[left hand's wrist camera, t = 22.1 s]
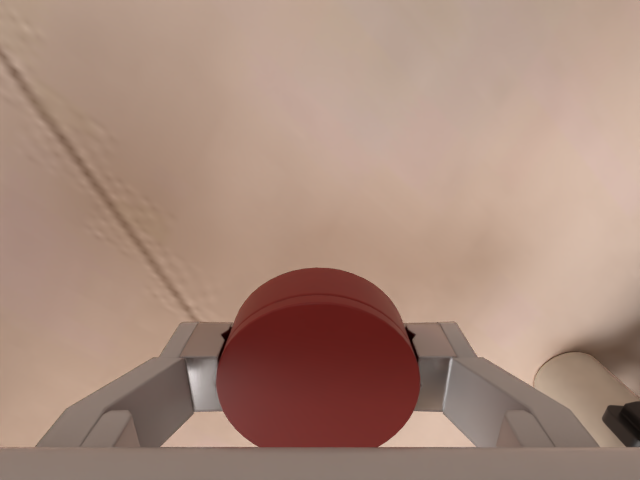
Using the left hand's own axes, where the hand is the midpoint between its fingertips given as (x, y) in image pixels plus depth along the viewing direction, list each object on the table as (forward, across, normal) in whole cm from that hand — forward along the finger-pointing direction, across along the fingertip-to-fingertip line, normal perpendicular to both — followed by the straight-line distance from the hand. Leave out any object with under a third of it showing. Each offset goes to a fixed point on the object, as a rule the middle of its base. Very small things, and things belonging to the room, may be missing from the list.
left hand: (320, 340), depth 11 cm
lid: (-2, 0, 0) cm, 2 cm away
